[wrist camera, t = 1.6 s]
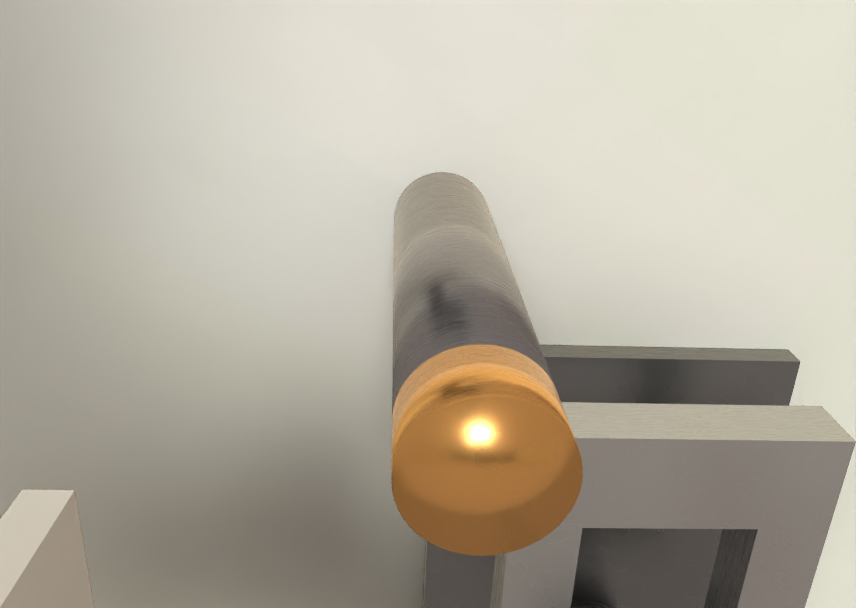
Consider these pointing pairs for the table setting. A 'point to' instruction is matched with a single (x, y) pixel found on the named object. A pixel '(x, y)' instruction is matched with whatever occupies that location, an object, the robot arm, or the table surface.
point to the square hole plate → (672, 488)
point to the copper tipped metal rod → (470, 384)
